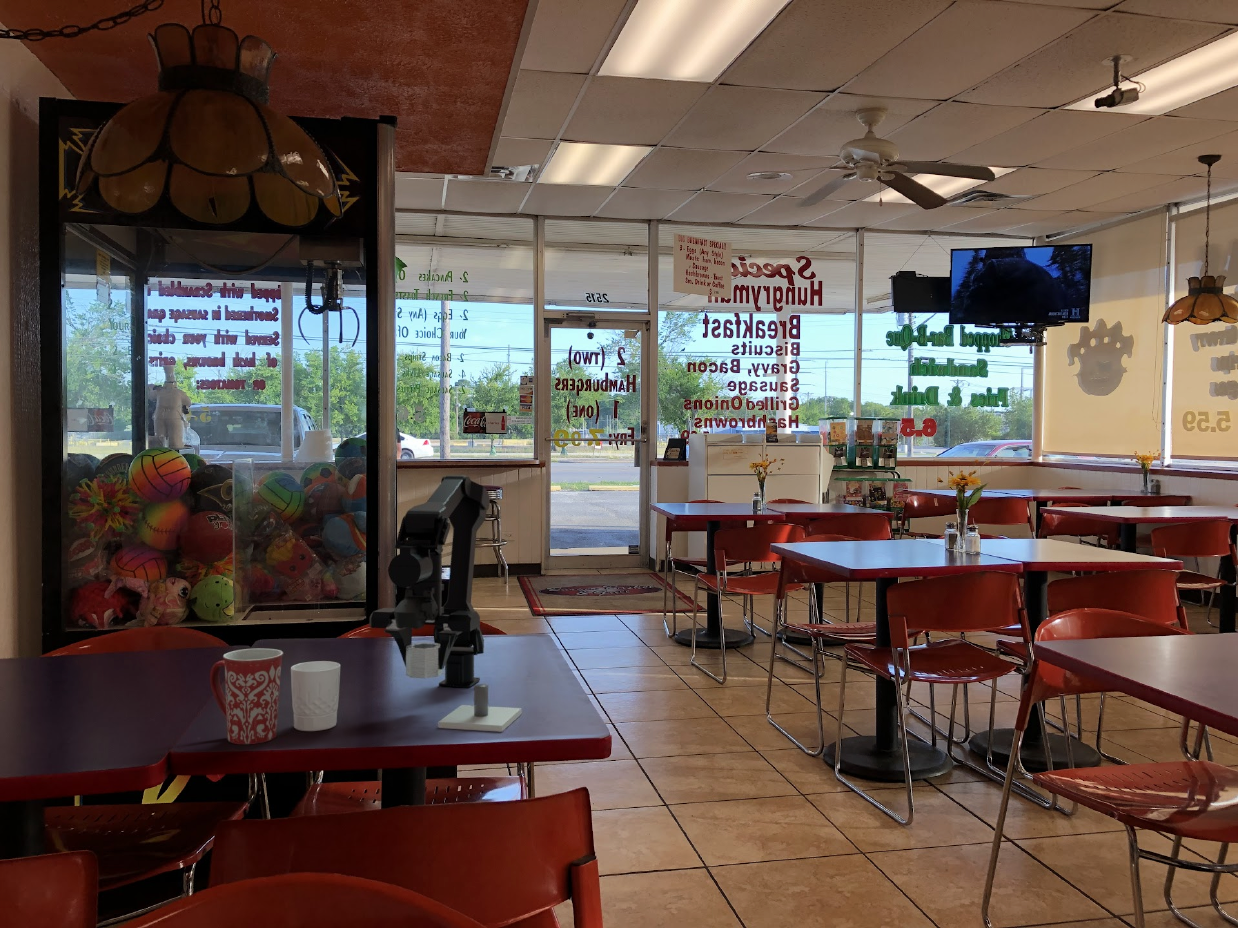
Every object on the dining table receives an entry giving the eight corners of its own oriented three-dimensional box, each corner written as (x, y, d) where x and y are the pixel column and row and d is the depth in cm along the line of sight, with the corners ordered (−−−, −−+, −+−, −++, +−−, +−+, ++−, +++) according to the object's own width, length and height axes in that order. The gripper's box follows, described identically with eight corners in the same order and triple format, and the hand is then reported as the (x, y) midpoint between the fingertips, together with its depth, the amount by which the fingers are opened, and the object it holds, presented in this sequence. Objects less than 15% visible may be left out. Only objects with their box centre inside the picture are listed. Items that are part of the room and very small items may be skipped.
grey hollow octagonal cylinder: (415, 669, 171) (415, 642, 171) (446, 671, 170) (447, 643, 170) (401, 677, 165) (401, 648, 165) (434, 678, 164) (434, 650, 164)
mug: (295, 733, 153) (295, 650, 153) (253, 749, 144) (253, 661, 144) (235, 724, 158) (236, 644, 158) (192, 739, 149) (192, 654, 149)
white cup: (322, 716, 163) (322, 658, 163) (349, 725, 158) (349, 665, 158) (281, 726, 157) (281, 666, 157) (307, 735, 152) (308, 673, 152)
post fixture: (461, 710, 167) (461, 676, 167) (521, 713, 165) (521, 679, 165) (438, 727, 156) (438, 691, 156) (502, 731, 154) (502, 695, 154)
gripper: (355, 584, 161) (354, 675, 161) (459, 587, 158) (458, 681, 158) (383, 576, 172) (383, 662, 172) (481, 579, 169) (480, 666, 169)
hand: (424, 668), depth 167 cm, fingers closed on grey hollow octagonal cylinder, 6 cm apart
